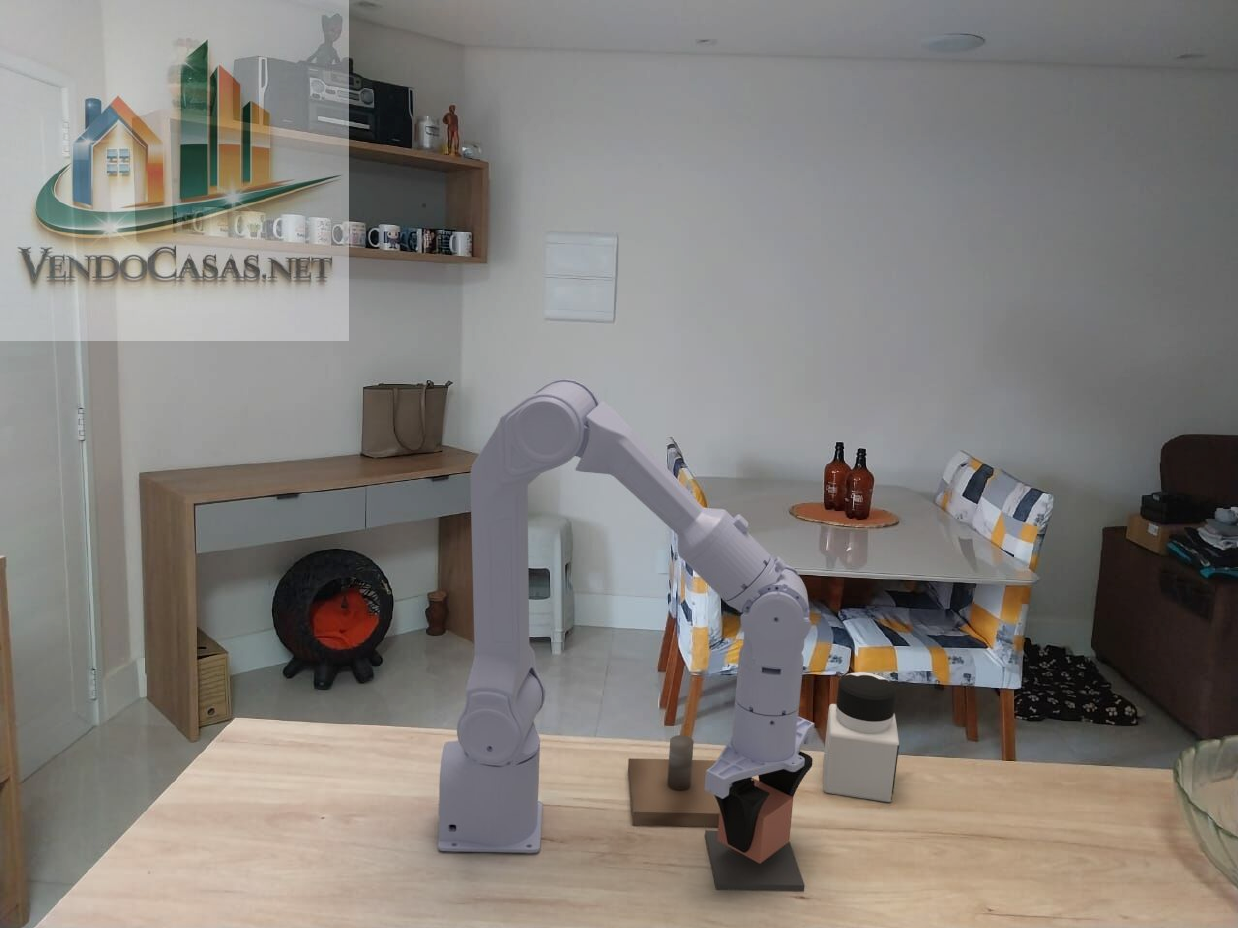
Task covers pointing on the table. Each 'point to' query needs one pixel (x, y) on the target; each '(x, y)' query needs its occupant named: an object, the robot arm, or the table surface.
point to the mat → (752, 868)
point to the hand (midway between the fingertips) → (755, 834)
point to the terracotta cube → (767, 825)
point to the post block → (672, 789)
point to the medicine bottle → (862, 739)
